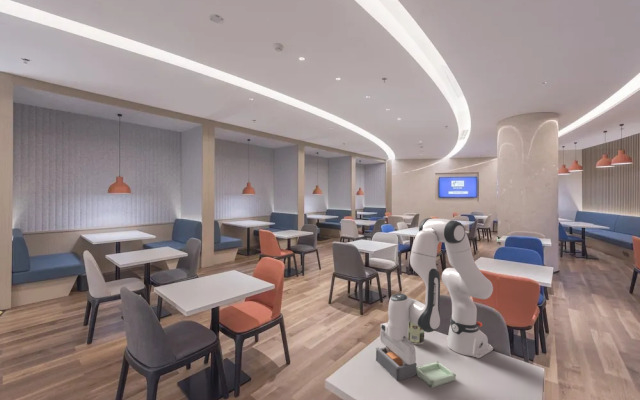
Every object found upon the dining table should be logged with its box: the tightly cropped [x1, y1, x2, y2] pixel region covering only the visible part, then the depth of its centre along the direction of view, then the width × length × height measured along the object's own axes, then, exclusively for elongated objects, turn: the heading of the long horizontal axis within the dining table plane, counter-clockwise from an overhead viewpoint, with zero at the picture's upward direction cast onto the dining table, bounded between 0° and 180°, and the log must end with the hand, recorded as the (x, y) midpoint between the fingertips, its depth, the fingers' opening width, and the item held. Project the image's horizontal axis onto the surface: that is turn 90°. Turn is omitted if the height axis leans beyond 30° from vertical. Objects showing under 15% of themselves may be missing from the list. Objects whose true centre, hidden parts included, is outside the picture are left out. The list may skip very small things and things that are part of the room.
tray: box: [415, 361, 457, 389], centre depth 117 cm, size 13×10×2 cm
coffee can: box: [407, 322, 425, 346], centre depth 147 cm, size 10×10×14 cm
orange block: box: [386, 352, 404, 366], centre depth 123 cm, size 8×4×6 cm, turn 113°
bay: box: [375, 346, 418, 382], centre depth 122 cm, size 10×15×6 cm
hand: (396, 362), depth 123 cm, fingers open, 8 cm apart
